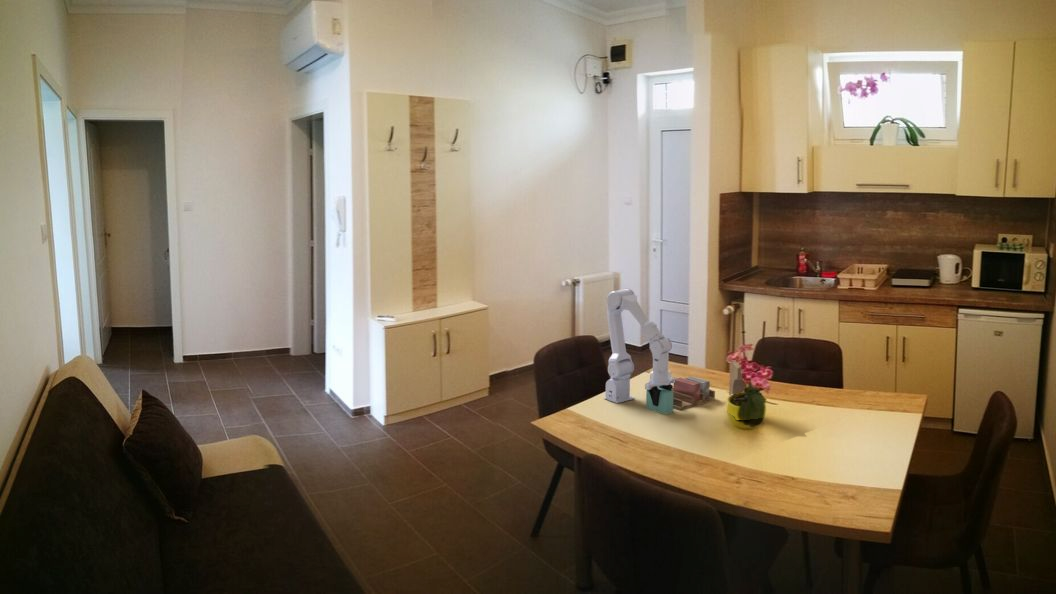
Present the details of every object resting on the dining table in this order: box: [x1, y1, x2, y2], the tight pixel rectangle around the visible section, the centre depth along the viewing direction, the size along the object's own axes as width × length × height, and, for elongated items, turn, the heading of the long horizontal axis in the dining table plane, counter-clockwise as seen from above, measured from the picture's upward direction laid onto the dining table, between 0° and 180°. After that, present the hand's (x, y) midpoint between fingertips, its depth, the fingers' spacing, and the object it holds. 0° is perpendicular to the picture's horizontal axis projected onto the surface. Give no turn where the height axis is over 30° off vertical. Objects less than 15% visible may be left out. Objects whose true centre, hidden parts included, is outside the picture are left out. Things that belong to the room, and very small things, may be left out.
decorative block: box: [728, 359, 746, 396], centre depth 262 cm, size 11×6×20 cm, turn 177°
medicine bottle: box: [648, 370, 672, 387], centre depth 298 cm, size 7×7×12 cm
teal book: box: [645, 387, 674, 415], centre depth 271 cm, size 4×10×8 cm, turn 37°
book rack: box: [671, 375, 716, 411], centre depth 281 cm, size 21×12×8 cm, turn 127°
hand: (659, 404), depth 271 cm, fingers open, 4 cm apart
